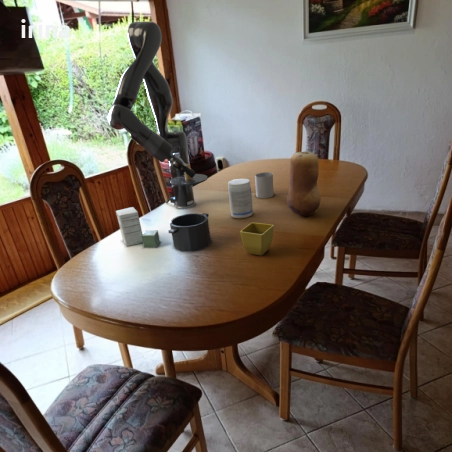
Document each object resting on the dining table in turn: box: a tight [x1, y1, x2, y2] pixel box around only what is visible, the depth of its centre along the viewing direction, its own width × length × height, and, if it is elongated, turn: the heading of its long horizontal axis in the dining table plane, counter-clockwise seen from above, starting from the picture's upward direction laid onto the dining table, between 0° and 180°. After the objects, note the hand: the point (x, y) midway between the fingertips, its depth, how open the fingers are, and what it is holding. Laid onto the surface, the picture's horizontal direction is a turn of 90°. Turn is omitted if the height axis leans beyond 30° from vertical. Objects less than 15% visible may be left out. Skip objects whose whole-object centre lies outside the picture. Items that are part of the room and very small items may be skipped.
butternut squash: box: [286, 150, 322, 218], centre depth 161 cm, size 14×13×25 cm
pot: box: [167, 212, 212, 253], centre depth 150 cm, size 14×19×10 cm
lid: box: [169, 163, 208, 186], centre depth 159 cm, size 15×15×7 cm
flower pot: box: [239, 221, 275, 256], centre depth 138 cm, size 9×9×9 cm
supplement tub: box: [227, 178, 254, 219], centre depth 170 cm, size 10×10×15 cm
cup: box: [254, 171, 275, 199], centre depth 192 cm, size 8×8×10 cm
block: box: [142, 229, 161, 249], centre depth 154 cm, size 5×5×5 cm
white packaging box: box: [115, 206, 143, 247], centre depth 157 cm, size 7×7×13 cm
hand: (193, 174), depth 159 cm, fingers closed on lid, 2 cm apart
